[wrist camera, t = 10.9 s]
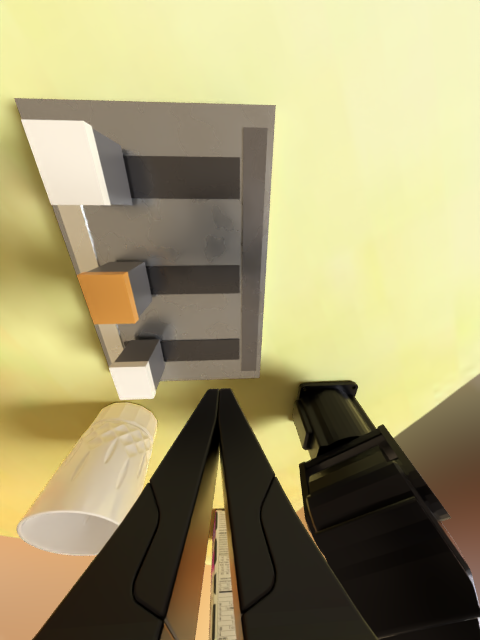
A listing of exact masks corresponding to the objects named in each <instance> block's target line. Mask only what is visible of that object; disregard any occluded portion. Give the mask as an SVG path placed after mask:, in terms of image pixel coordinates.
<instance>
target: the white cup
mask: <svg viewBox="0 0 480 640" xmlns="http://www.w3.org/2000/svg"><path fill="white" fill-rule="evenodd" d="M156 432H157V419H156V418H155V416H154V415H153V413H152V412H151V411H149V410H147V409H146V408H144V407H143V406H141V405H137V404H133V403H129V402H122V403H113V404H111V405H108V406H106V407H104V408H102V410H101V411H100V413H99V414H98V415H97V417H96V418H95V420H94V421H93V423H92V424H91V425H90V426H89V428H88V429H87V430H86V431H85V432H84V433H83V434H82V436H81V437H80V439H79V440H78V441H77V442H76V444H75V445H74V446H73V448H72V449H71V451H70V453H69V454H68V455H67V456H66V457H65V459H64V460H63V461H62V463H61V464H60V466H59V467H58V469H57V470H56V471H55V473H54V474H53V476H52V477H51V479H50V480H49V481H48V483H47V484H46V486H45V487H44V488H43V490H42V491H41V493H40V494H39V495H38V497H37V498H36V500H35V501H34V502H33V504H32V505H31V507H30V508H29V509H28V511H27V512H26V514H25V515H24V516H23V518H22V519H21V521H20V522H19V523H18V525H17V533H18V535H19V537H20V538H21V539H22V540H24V541H25V542H26V543H28V544H30V545H32V546H34V547H36V548H39V549H41V550H44V551H48V552H53V553H57V554H64V555H74V556H90V555H98V553H99V552H100V551H101V549H102V548H103V547H104V545H105V544H106V543H107V541H108V540H109V539H110V537H111V536H112V534H113V533H114V532H115V530H116V529H117V528H118V526H119V525H120V524H121V522H122V521H123V519H124V518H125V516H126V515H127V513H128V512H129V511H130V509H131V508H132V506H133V505H134V503H135V502H136V500H137V499H138V497H139V496H140V494H141V493H142V489H143V485H144V482H145V478H146V473H147V469H148V465H149V461H150V457H151V453H152V448H153V442H154V439H155V435H156Z"/></svg>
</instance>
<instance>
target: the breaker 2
mask: <svg viewBox="0 0 480 640" xmlns="http://www.w3.org/2000/svg"><path fill="white" fill-rule="evenodd" d="M77 277H78V280H79V283H80V286H81V289H82V292H83V294H84V297H85V300H86V303H87V306H88V309H89V311H90V314H91V317H92V320H93V323H94V324H135V323H136V322H137V321H138V320H139V317H140V315H141V314H142V313H143V312H144V311H145V309H146V308H147V307H148V306H149V305H150V303H151V302H152V296H151V291H150V286H149V281H148V276H147V271H146V266H145V262H108V263H106V264H104V265H102V266H99V267H97V268H95V269H92V270H90V271H88V272H82V273H80V274H78V275H77Z"/></svg>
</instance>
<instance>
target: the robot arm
mask: <svg viewBox="0 0 480 640" xmlns="http://www.w3.org/2000/svg"><path fill="white" fill-rule="evenodd" d="M303 388H304V389H303ZM357 389H358V385H357V384H356V383H355V382H333V383H305V384H301V385H300V387H299V391H298V397H297V400H296V401H295V404H294V410H293V419H294V420H293V421H294V424H295V426H296V429H297V432H298V435H299V438H300V442H301V445H302V448H303V449H304V450H308V451H309V454H310V457H311V460H309V461H307V462H302V463H300V464H299V469H300V480H301V488H302V496H303V505H304V513H305V519H306V522H307V526H308V528H309V531H310V532H311V533H312V536H313V538H314V540H315V542H316V544H317V546H318V548H319V549H320V551H321V552H322V553H323V555H324V556H325V558H326V560H327V561H326V560H325V558H324V557H323V555H322V554H321V552H320V551H319V549H318V548H317V546H316V545H315V543H314V541H313V540H312V538H311V537H310V535H309V534H308V532H307V530H306V529H305V527H304V525H303V524H302V522H301V520H300V519H299V517H298V516H297V514H296V512H295V510H294V509H293V507H292V505H291V503H290V501H289V500H288V498H287V496H286V494H285V492H284V490H283V488H282V487H281V485H280V483H279V481H278V479H277V477H275V473H274V471H273V469H272V467H271V465H270V463H269V462H268V460H267V458H266V456H265V454H264V452H263V450H262V448H261V446H260V444H259V442H258V440H257V438H256V436H255V434H254V432H253V430H252V428H251V426H250V425H249V423H248V421H247V419H246V417H245V415H244V413H243V411H242V409H241V407H240V405H239V403H238V401H237V399H236V397H235V395H234V393H233V391H232V390H231V389H220V390H219V389H209V390H207V392H206V393H205V395H204V397H203V398H202V400H201V401H200V403H199V404H198V406H197V407H196V409H195V410H194V412H193V414H192V415H191V417H190V418H189V420H188V421H187V423H186V424H185V426H184V428H183V429H182V431H181V432H180V434H179V435H178V437H177V438H176V440H175V442H174V443H173V445H172V446H171V448H170V449H169V451H168V452H167V454H166V455H165V457H164V459H163V460H162V462H161V463H160V465H159V466H158V468H157V469H156V471H155V473H154V474H153V476H152V477H151V479H150V483H147V485H146V486H145V488H144V489H143V491H142V493H141V494H140V496H139V497H138V499H137V500H136V502H135V503H134V505H133V506H132V508H131V509H130V511H129V512H128V513H127V515H126V516H125V518H124V519H123V521H122V522H121V524H120V525H119V526H118V528H117V529H116V530H115V532H114V533H113V534H112V536H111V537H110V539H109V540H108V541H107V543H106V544H105V545H104V547H103V548H102V549H101V551H100V552H99V553H98V555H97V556H96V557H95V559H94V560H93V561H92V562H91V564H90V565H89V566H88V568H87V569H86V570H85V572H84V573H83V574H82V576H81V577H80V578H79V579H78V581H77V582H76V584H75V585H74V586H73V587H72V589H71V590H70V591H69V593H68V594H67V595H66V596H65V598H64V599H63V600H62V602H61V603H60V604H59V606H58V607H57V608H56V610H55V611H54V612H53V613H52V615H51V616H50V618H49V619H48V620H47V621H46V623H45V624H44V625H43V627H42V628H41V629H40V630H39V632H38V633H37V634H36V636H35V637H34V638H33V639H32V640H195V635H196V628H197V620H198V612H199V605H200V597H201V590H202V582H203V574H204V567H205V560H206V552H207V544H208V537H209V529H210V522H211V514H212V507H213V499H214V492H215V484H216V476H217V469H218V461H219V449H220V464H221V474H222V485H223V496H224V507H225V518H226V529H227V540H228V551H229V562H230V573H231V584H232V595H233V606H234V617H235V628H236V639H237V640H480V607H479V602H478V598H477V594H476V590H475V586H474V581H473V577H472V574H471V571H470V568H469V567H468V565H467V563H466V561H465V559H464V557H463V555H462V553H461V551H460V549H459V548H458V546H457V544H456V543H455V542H454V540H453V538H452V537H451V536H450V534H449V533H448V531H447V530H446V528H445V527H444V526H443V524H442V523H441V521H444V520H447V519H450V518H451V517H450V516H449V514H448V513H447V511H446V510H445V509H444V507H443V506H442V504H441V503H440V502H439V500H438V499H437V498H436V496H435V495H434V493H433V492H432V491H431V489H430V488H429V487H428V485H427V484H426V482H425V481H424V480H423V479H422V477H421V476H420V474H419V473H418V471H417V470H416V469H415V467H414V466H413V465H412V463H411V462H410V460H409V459H408V458H407V456H406V455H405V454H404V452H403V451H402V450H401V448H400V447H399V445H398V444H397V443H396V441H395V440H394V438H393V437H392V436H391V434H390V433H389V432H388V430H387V429H386V428H385V426H384V425H383V424H382V425H380V426H378V428H377V429H376V427H375V426H374V424H373V423H372V422H371V420H370V419H369V417H368V416H367V414H366V413H365V411H364V410H363V408H362V407H361V405H360V404H359V402H358V401H357V400H356V398H355V395H356V392H357Z"/></svg>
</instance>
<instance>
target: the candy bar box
mask: <svg viewBox="0 0 480 640" xmlns="http://www.w3.org/2000/svg"><path fill="white" fill-rule="evenodd" d="M212 540H213V543H212V569H211V596H210V624H209V640H237V639H236V628H235V617H234V606H233V595H232V584H231V573H230V562H229V551H228V540H227V529H226V518H225V509H218V510H216V512H215V521H214V529H213V538H212Z"/></svg>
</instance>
